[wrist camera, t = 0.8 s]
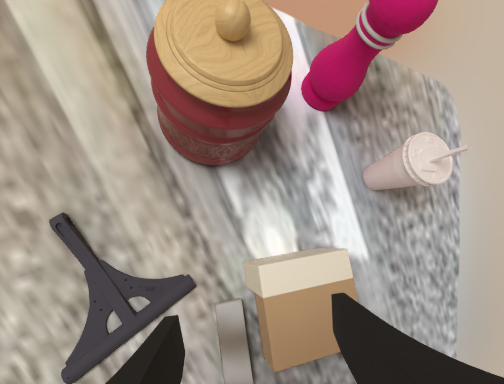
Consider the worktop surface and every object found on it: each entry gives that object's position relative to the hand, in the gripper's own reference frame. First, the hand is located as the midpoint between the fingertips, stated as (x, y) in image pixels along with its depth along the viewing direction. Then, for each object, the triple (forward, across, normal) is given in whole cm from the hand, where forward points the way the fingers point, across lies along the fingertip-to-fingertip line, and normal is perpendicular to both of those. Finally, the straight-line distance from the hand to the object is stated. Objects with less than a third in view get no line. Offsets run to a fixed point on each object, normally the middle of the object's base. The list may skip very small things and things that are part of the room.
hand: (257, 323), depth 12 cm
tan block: (+18, -4, +11) cm, 22 cm away
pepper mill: (+31, -14, -13) cm, 36 cm away
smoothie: (+27, -20, 0) cm, 34 cm away
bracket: (+17, +16, +5) cm, 24 cm away
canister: (+26, +3, -10) cm, 28 cm away
